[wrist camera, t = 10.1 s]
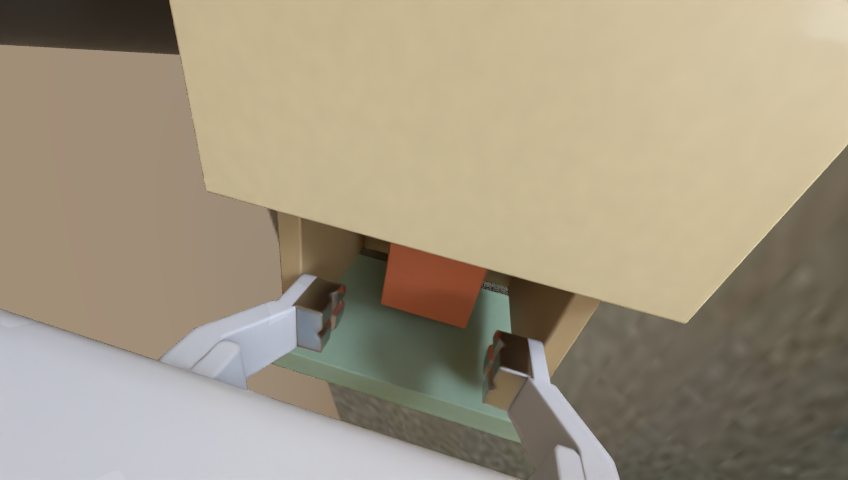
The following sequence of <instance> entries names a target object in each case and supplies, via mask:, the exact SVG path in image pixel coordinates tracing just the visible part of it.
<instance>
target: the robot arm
mask: <svg viewBox="0 0 848 480" xmlns="http://www.w3.org/2000/svg"><path fill="white" fill-rule="evenodd" d="M345 293H346V286H345V285H343V284H339V283H336V282H333V281H330V280H327V279H324V278H321V277H316V276H313V275H310V274H307V273H305V274H302V275H301V276H300V277H299V278H298V279H297V280H296V281H295V282H294V283H293V284H292V285H291V287H290V288H289V289H288V290H287V291H286V292H285V293H284V294H283V295H282V296H281V297H280V298H279V299H278V300H277V301H269V302H266V303H263V304H261V305H258V306H255V307H252V308H249V309H247V310H244V311H241V312H238V313H236V314H233V315H230V316H227V317H225V318H222V319H219V320H216V321H213V322H211V323H208V324H205V325H202V326H200V327H197V328H194V329H193V330H192V331H191V332H190V333H188V334H187V335H186V336H185V337H184V338H183V339H181V340H180V341H179V342H178V343H177V344H176V345H174V346H173V347H172V348H171V349H170V350H169V351H167V352H166V353H165V354H164V355H163V356H161V357H160V358H159V359H158V360H155V359H152V358H148V357H146V356H143V355H140V354H137V353H134V352H131V351H127V350H124V349H121V348H118V347H115V346H112V345H109V344H106V343H103V342H100V341H97V340H94V339H91V338H88V337H85V336H82V335H78V334H76V333H72V332H70V331H67V330H63V329H61V328H57V327H54V326H51V325H48V324H45V323H42V322H39V321H36V320H33V319H30V318H27V317H24V316H21V315H18V314H15V313H12V312H9V311H6V310H3V309H0V480H521V479H518V478H515V477H512V476H509V475H506V474H503V473H500V472H497V471H494V470H491V469H488V468H485V467H482V466H479V465H476V464H473V463H470V462H466V461H463V460H460V459H457V458H454V457H451V456H448V455H445V454H442V453H439V452H436V451H433V450H430V449H427V448H424V447H421V446H417V445H414V444H411V443H408V442H405V441H402V440H399V439H396V438H393V437H390V436H387V435H384V434H381V433H378V432H375V431H372V430H369V429H366V428H362V427H359V426H356V425H353V424H350V423H347V422H344V421H341V420H338V419H335V418H332V417H329V416H326V415H323V414H320V413H317V412H314V411H310V410H307V409H304V408H301V407H298V406H295V405H292V404H289V403H286V402H283V401H280V400H277V399H274V398H271V397H268V396H265V395H262V394H259V393H256V392H252V391H250V390H248V388H247V382H246V378H248V377H250V376H251V375H253V374H255V373H256V372H258V371H259V370H261V369H263V368H264V367H266V366H268V365H269V364H271V363H273V362H274V361H276V360H278V359H279V358H281V357H282V356H284V355H286V354H287V353H289V352H291V351H292V350H294V349H296V348H297V346H298V347H302V348H305V349H309V350H312V351H316V352H319V353H321V352H322V350H323V349H324V347H325V345H326V344H327V342H328V341H329V339H330V332H331V331H332V330H334V329H336V328H337V326H338V324H339V322H340V320H341V318H342V315H343V312H344V306H345V303H344V301H343V300H342V298H343V297H344V295H345ZM483 374H484V375H485V377H486V378H485V381H484V383H483V388H482V403H483V404H486V405H489V406H492V407H495V408H498V409H501V410H504V411H507V414H508V416H509V418H510V420H511V422H512V424H513V426H514V428H515V430H516V432H517V434H518V436H519V438H520V441H521V443H522V445H523V447H524V449H525V451H526V453H527V455H528V457H529V459H530V461H531V463H532V465H533V467H534V469H535V472H534V473H533V474H532V475H531V476H530V478H529V479H528V480H620V479H619V476H618V473H617V469H616V466H615V463H614V461H613V459H612V458H611V457H610V455H609V454H608V453H607V452H606V450H605V449H604V448H603V446H602V445H601V444H600V442H599V441H598V440H597V439H596V437H595V436H594V435H593V433H592V432H591V431H590V430H589V428H588V427H587V426H586V424H585V423H584V422H583V421H582V419H581V418H580V417H579V415H578V414H577V413H576V412H575V410H574V409H573V408H572V406H571V405H570V404H569V403H568V401H567V400H566V399H565V397H564V396H563V395H562V394H561V392H560V391H559V390H558V388H557V387H556V386H555V385H552V384H551V383H550V378H549V373H548V368H547V362H546V357H545V352H544V347H543V344H542V342H541V341H537V340H533V339H530V338H525V337H522V336H518V335H515V334H511V333H508V332H504V331H501V330H496V332H495V334H494V336H493V344H492V345H490V346H489V347H488V349H487V352H486V355H485V359H484V365H483Z"/></svg>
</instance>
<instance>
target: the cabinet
mask: <svg viewBox="0 0 848 480" xmlns="http://www.w3.org/2000/svg"><path fill="white" fill-rule="evenodd" d="M169 1H170V7H171V12H172V17H173V22H174V27H175V33H176V38H177V43H178V48H179V53H180V58H181V64H182V69H183V74H184V79H185V85H186V90H187V95H188V100H189V105H190V110H191V116H192V121H193V126H194V131H195V136H196V142H197V147H198V152H199V157H200V163H201V168H202V173H203V178H204V184H205V189H206V191H208V192H211V193H214V194H218V195H221V196H225V197H228V198H232V199H236V200H239V201H243V202H246V203H250V204H254V205H258V206H261V207H264V208H268V209H272V210H275V211H279V212H283V213H286V214H290V215H293V216H297V217H301V218H304V219H308V220H311V221H315V222H319V223H322V224H326V225H330V226H333V227H337V228H340V229H344V230H348V231H351V232H355V233H358V234H362V235H366V236H369V237H373V238H377V239H380V240H384V241H387V242H391V243H395V244H398V245H402V246H405V247H409V248H413V249H416V250H420V251H423V252H427V253H431V254H434V255H438V256H442V257H445V258H449V259H452V260H456V261H460V262H463V263H467V264H470V265H474V266H478V267H481V268H485V269H489V270H492V271H496V272H499V273H503V274H507V275H510V276H514V277H517V278H521V279H525V280H528V281H532V282H536V283H539V284H543V285H546V286H550V287H554V288H557V289H561V290H564V291H568V292H572V293H575V294H579V295H582V296H586V297H590V298H593V299H597V300H601V301H604V302H608V303H611V304H615V305H619V306H622V307H626V308H629V309H633V310H637V311H640V312H644V313H648V314H651V315H655V316H658V317H662V318H666V319H669V320H673V321H676V322H680V323H686V322H688V321H689V320H690V318H691V317H692V316H693V315H694V314H695V313H696V312H697V311H698V310H699V308H700V307H701V306H702V305H703V304H704V303H705V302H706V301H707V300H708V298H709V297H710V296H711V295H712V294H713V293H714V292H715V291H716V290H717V289H718V287H719V286H720V285H721V284H722V283H723V282H724V281H725V280H726V279H727V277H728V276H729V275H730V274H731V273H732V272H733V271H734V270H735V269H736V268H737V266H738V265H739V264H740V263H741V262H742V261H743V260H744V259H745V258H746V256H747V255H748V254H749V253H750V252H751V251H752V250H753V249H754V248H755V246H756V245H757V244H758V243H759V242H760V241H761V240H762V239H763V238H764V237H765V235H766V234H767V233H768V232H769V231H770V230H771V229H772V228H773V227H774V225H775V224H776V223H777V222H778V221H779V220H780V219H781V218H782V217H783V215H784V214H785V213H786V212H787V211H788V210H789V209H790V208H791V207H792V206H793V204H794V203H795V202H796V201H797V200H798V199H799V198H800V197H801V196H802V194H803V193H804V192H805V191H806V190H807V189H808V188H809V187H810V186H811V185H812V183H813V182H814V181H815V180H816V179H817V178H818V177H819V176H820V175H821V173H822V172H823V171H824V170H825V169H826V168H827V167H828V166H829V165H830V163H831V162H832V161H833V160H834V159H835V158H836V157H837V156H838V155H839V154H840V152H841V151H842V150H843V149H844V148H845V147H846V146H847V145H848V0H169Z"/></svg>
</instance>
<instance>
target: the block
mask: <svg viewBox="0 0 848 480" xmlns="http://www.w3.org/2000/svg"><path fill="white" fill-rule="evenodd" d="M487 270H488V269H485V268H481V267H478V266H474V265H470V264H467V263H463V262H460V261H456V260H452V259H449V258H445V257H442V256H438V255H434V254H431V253H427V252H423V251H420V250H416V249H413V248H409V247H405V246H402V245H398V244H395V243H391V242H390V248H389V254H388V261H387V267H386V273H385V279H384V285H383V292H382V298H381V304H382V305H386V306H389V307H392V308H396V309H399V310H403V311H406V312H410V313H413V314H416V315H420V316H423V317H427V318H430V319H433V320H437V321H440V322H444V323H447V324H450V325H454V326H457V327H461V328H466V326H467V323H468V321H469V318H470V315H471V313H472V310H473V307H474V305H475V302H476V299H477V297H478V294H479V291H480V289H481V286H482V283H483V281H484V278H485V276H486V273H487Z"/></svg>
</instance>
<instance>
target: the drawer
mask: <svg viewBox="0 0 848 480" xmlns="http://www.w3.org/2000/svg"><path fill="white" fill-rule="evenodd" d="M277 216H278V231H279V247H280V262H281V278H282V294H284V293H285V292H286V291H287V290H288V289H289V288H290V287H291V285H292V284H293V283H294V282H295V281H296V280H297V279H298V278H299V277H300V276H301V275H302V274H305V273H307V274H310V275H313V276H316V277H321V278H324V279H327V280H330V281H333V282H336V283H339V284H343V285H345V286H346V293H345V295H344V297H343V298H342V300H343V301H344V303H345V306H344V312H343V315H342V318H341V320H340V322H339V324H338V326H337V328H336V329H334V330H332V331H331V332H330V339H329V341H328V342H327V344H326V345H325V347H324V349H323V350H322V352H321V353H319V352H316V351H312V350H309V349H305V348H302V347H298V346H297V348H296V349H294V350H292V351H291V352H289V353H287V354H286V355H284V356H282V357H281V358H279V359H278V360H276V361H274V362H273V363H271V364H274V365H277V366H280V367H283V368H287V369H289V370H292V371H296V372H299V373H302V374H305V375H308V376H311V377H315V378H318V379H321V380H324V381H327V382H330V383H333V384H337V385H340V386H343V387H346V388H349V389H352V390H355V391H359V392H362V393H365V394H368V395H371V396H374V397H377V398H381V399H384V400H387V401H390V402H393V403H396V404H399V405H403V406H406V407H409V408H412V409H415V410H418V411H421V412H425V413H428V414H431V415H434V416H437V417H440V418H443V419H447V420H450V421H453V422H456V423H459V424H462V425H465V426H469V427H472V428H475V429H478V430H481V431H484V432H487V433H491V434H494V435H497V436H500V437H503V438H506V439H509V440H513V441H516V442H519V443H521V441H520V438H519V436H518V434H517V432H516V430H515V428H514V426H513V424H512V422H511V420H510V418H509V416H508V414H507V411H504V410H501V409H498V408H495V407H492V406H489V405H486V404H483V403H482V388H483V383H484V381H485V378H486V377H485V375H484V374H483V365H484V359H485V355H486V352H487V349H488V347H489V346H490V345H492V344H493V336H494V334H495V332H496V330H501V331H504V332H508V333H511V334H515V335H518V336H522V337H525V338H530V339H533V340H537V341H541V342H542V344H543V347H544V352H545V357H546V362H547V368H548V373H549V378H550V377H551V376H552V374H553V373H554V371H555V370H556V368H557V367H558V365H559V364H560V362H561V361H562V359H563V358H564V356H565V355H566V353H567V352H568V350H569V349H570V347H571V346H572V344H573V343H574V341H575V340H576V338H577V337H578V335H579V334H580V332H581V331H582V329H583V328H584V326H585V325H586V323H587V322H588V320H589V319H590V317H591V316H592V314H593V313H594V311H595V310H596V308H597V307H598V305H599V304H600V302H601V300H597V299H593V298H590V297H586V296H582V295H579V294H575V293H572V292H568V291H564V290H561V289H557V288H554V287H550V286H546V285H543V284H539V283H536V282H532V281H528V280H525V279H521V278H517V277H514V276H510V275H507V274H503V273H499V272H496V271H492V270H489V269H488V270H487V273H486V276H485V278H484V281H487V282H490V283H494V284H497V285H501V286H504V287H508V294H509V296H507V295H503V294H500V293H496V292H492V291H489V290H485V289H482V288H481V289H480V291H479V294H478V297H477V299H476V302H475V305H474V307H473V310H472V313H471V315H470V318H469V321H468V323H467V326H466V328H461V327H457V326H454V325H450V324H447V323H444V322H440V321H437V320H433V319H430V318H427V317H423V316H420V315H416V314H413V313H410V312H406V311H403V310H399V309H396V308H392V307H389V306H386V305H382V304H381V298H382V292H383V285H384V279H385V273H386V267H387V262H386V261H383V260H379V259H375V258H372V257H368V256H365V255H361V254H359V253H360V251H361V250H362V249H363V247H365V248H369V249H372V250H376V251H379V252H383V253H386V254H389V248H390V242H387V241H384V240H380V239H377V238H373V237H369V236H366V235H362V234H358V233H355V232H351V231H348V230H344V229H340V228H337V227H333V226H330V225H326V224H322V223H319V222H315V221H311V220H308V219H304V218H301V217H297V216H293V215H290V214H286V213H283V212H279V211H277Z"/></svg>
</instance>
